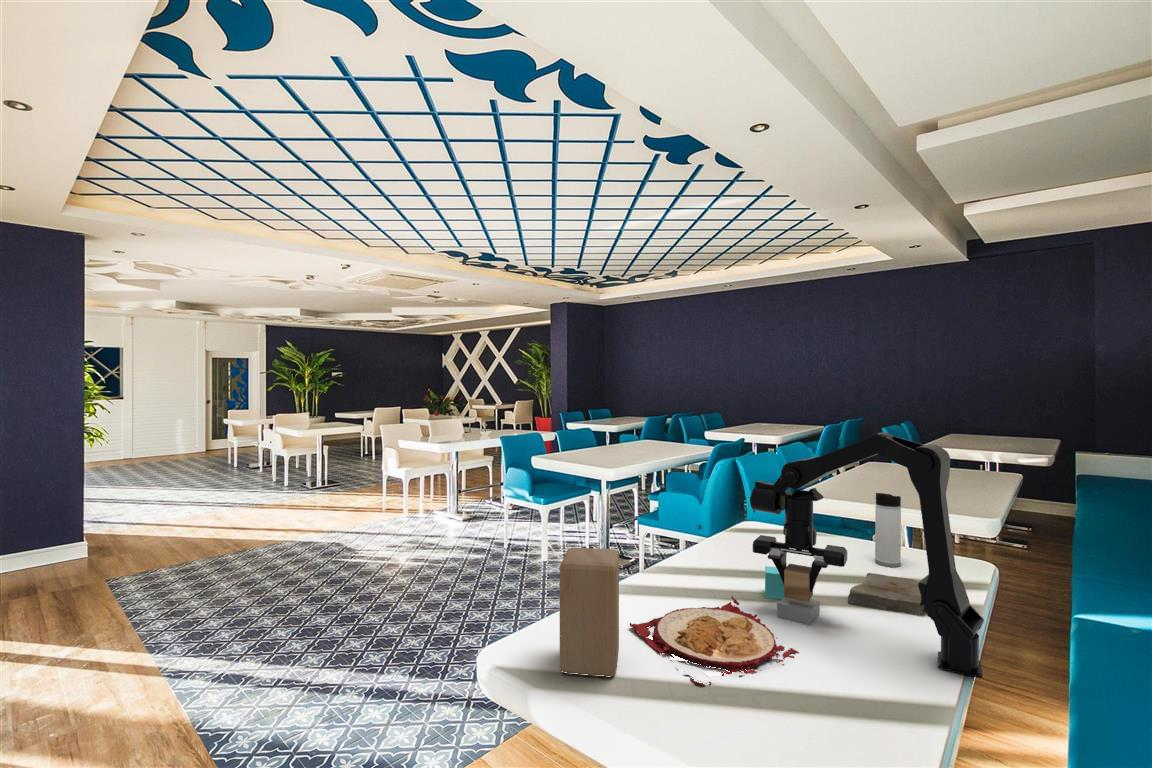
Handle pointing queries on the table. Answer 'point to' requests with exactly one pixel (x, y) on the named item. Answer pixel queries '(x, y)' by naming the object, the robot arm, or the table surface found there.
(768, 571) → the teal cube
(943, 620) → the robot arm
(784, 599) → the grey slab
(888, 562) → the travel mug
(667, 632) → the plate with food
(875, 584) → the marble piece
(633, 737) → the table surface
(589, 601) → the block
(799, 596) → the walnut cube
